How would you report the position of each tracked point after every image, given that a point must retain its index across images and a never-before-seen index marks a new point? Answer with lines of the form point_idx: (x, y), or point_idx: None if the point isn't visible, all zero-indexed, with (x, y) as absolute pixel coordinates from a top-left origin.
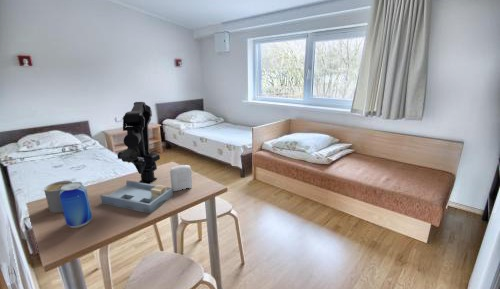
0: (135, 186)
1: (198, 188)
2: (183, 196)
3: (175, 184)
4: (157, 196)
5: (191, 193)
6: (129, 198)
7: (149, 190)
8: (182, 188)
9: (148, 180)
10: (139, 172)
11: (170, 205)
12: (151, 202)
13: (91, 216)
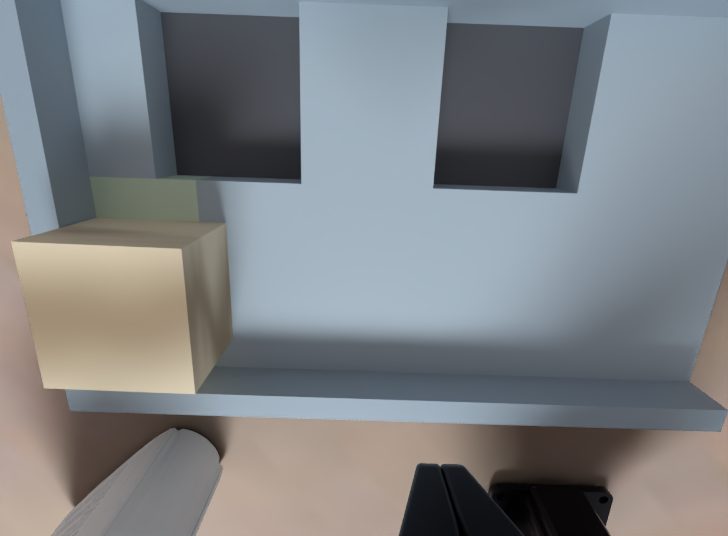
0: (566, 378)
1: (17, 518)
2: (29, 374)
3: (115, 490)
4: (124, 223)
5: (5, 436)
6: (502, 185)
7: (356, 344)
8: (108, 476)
9: (520, 518)
10: (450, 489)
11: (10, 197)
12: (3, 8)
13: None
